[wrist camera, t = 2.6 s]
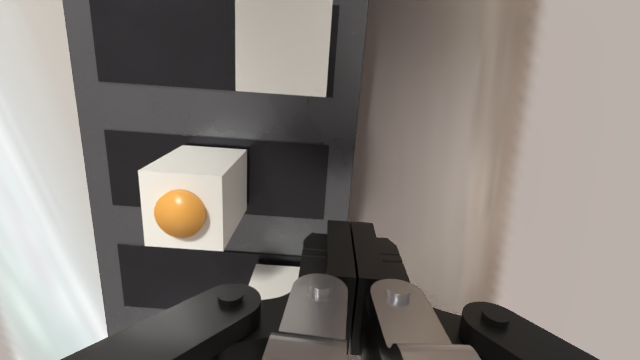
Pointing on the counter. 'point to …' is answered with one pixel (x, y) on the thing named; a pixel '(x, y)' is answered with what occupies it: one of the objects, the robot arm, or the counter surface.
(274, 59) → the block
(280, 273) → the block
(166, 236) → the block
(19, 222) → the counter surface
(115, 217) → the panel
